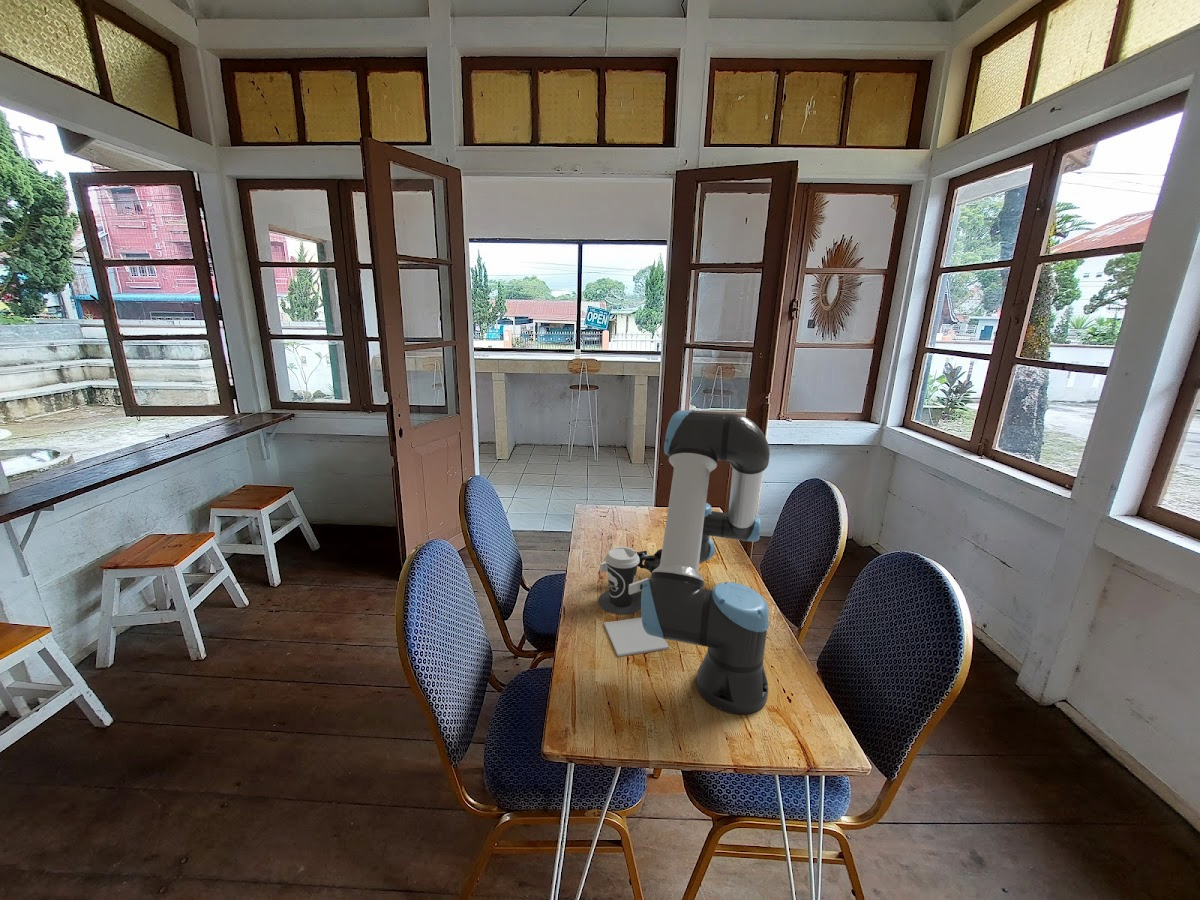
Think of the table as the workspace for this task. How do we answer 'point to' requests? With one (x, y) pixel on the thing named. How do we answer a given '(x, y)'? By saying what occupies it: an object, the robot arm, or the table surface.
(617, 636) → the plate
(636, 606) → the coaster
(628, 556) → the coffee cup
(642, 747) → the table surface
